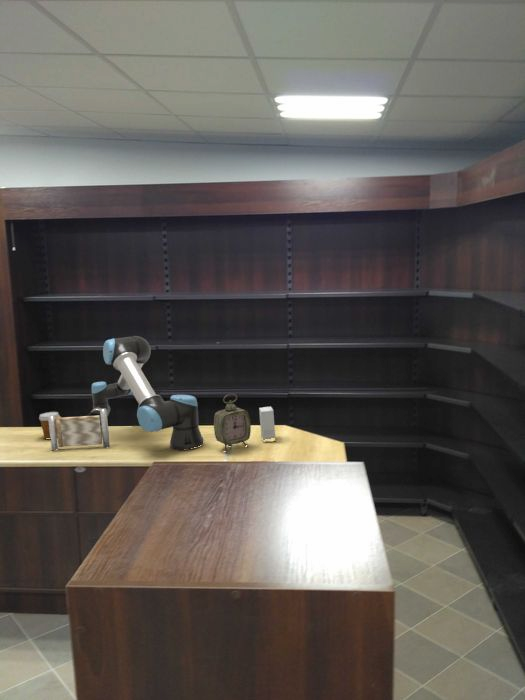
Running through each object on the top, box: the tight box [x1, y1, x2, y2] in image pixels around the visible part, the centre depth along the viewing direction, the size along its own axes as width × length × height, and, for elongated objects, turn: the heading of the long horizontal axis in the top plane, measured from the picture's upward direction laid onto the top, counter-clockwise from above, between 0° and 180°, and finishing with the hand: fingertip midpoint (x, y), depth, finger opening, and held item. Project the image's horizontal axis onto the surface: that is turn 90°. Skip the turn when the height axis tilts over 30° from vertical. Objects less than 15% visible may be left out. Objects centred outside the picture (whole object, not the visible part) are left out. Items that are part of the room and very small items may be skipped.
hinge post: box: [100, 408, 111, 449], centre depth 250 cm, size 3×3×18 cm
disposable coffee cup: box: [38, 411, 60, 439], centre depth 269 cm, size 10×10×12 cm
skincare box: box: [258, 406, 276, 441], centre depth 250 cm, size 8×6×15 cm
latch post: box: [48, 416, 59, 451], centre depth 249 cm, size 3×3×16 cm
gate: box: [55, 415, 103, 448], centre depth 250 cm, size 20×2×14 cm, turn 93°
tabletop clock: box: [213, 393, 252, 452], centre depth 240 cm, size 14×9×25 cm, turn 123°
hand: (83, 430), depth 255 cm, fingers closed
